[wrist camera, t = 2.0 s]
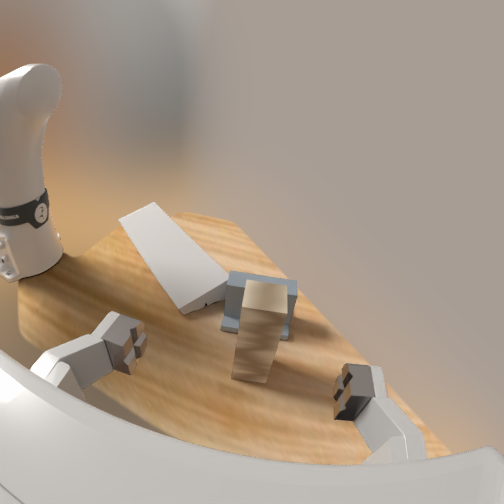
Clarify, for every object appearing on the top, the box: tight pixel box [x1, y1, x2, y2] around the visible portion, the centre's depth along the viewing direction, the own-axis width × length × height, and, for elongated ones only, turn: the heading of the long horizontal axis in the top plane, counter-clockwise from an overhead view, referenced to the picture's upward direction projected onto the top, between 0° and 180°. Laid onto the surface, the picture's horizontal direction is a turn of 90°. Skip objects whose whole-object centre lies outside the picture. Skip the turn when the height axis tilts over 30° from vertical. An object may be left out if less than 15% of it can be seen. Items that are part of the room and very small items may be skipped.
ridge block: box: [221, 270, 298, 340], centre depth 43 cm, size 10×8×7 cm
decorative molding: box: [119, 202, 229, 315], centre depth 56 cm, size 34×5×10 cm
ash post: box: [231, 280, 287, 383], centre depth 33 cm, size 4×4×13 cm
